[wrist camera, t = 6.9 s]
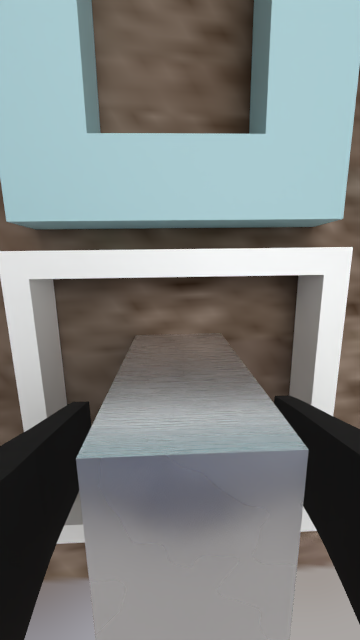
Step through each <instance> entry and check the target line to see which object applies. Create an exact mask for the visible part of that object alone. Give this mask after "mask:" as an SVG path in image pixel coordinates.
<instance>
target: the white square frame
mask: <svg viewBox="0 0 360 640" xmlns="http://www.w3.org/2000/svg"><path fill="white" fill-rule="evenodd" d="M352 251H353V247H322V248H238V249H153V250H68V251H0V278H1V284H2V291H3V298H4V304H5V311H6V317H7V324H8V330H9V337H10V343H11V350H12V357H13V363H14V370H15V376H16V383H17V389H18V396H19V403H20V409H21V416H22V422H23V429H24V432H25V431H27V430H29V429H30V428H32V427H33V426H35V425H37V424H38V423H40V422H41V421H43V420H44V419H46V418H47V417H49V416H51V415H52V414H54V413H55V412H57V411H58V410H60V409H62V408H63V407H65V406H67V399H66V391H65V382H64V373H63V364H62V355H61V346H60V337H59V328H58V319H57V310H56V301H55V292H54V283H53V279H80V278H145V277H209V276H274V275H298V288H297V301H296V313H295V326H294V339H293V352H292V365H291V378H290V390H289V396H292V397H295V398H297V399H300V400H302V401H304V402H306V403H308V404H310V405H312V406H314V407H316V408H318V409H320V410H322V411H324V412H326V413H327V414H329V415H331V416H333V413H334V404H335V396H336V387H337V379H338V370H339V362H340V353H341V345H342V336H343V328H344V319H345V311H346V302H347V294H348V285H349V277H350V268H351V260H352ZM302 531H317V530H316V528H315V526H314V524H313V523H312V521H311V519H310V517H309V516H308V514H307V512H306V510H305V509H304V507H303V512H302V522H301V532H302ZM82 542H85V537H84V528H83V519H82V510H81V501H80V492H78V495H77V497H76V499H75V502H74V504H73V506H72V509H71V511H70V513H69V516H68V518H67V520H66V523H65V525H64V527H63V530H62V532H61V534H60V536H59V539H58V541H57V544H62V543H82Z"/></svg>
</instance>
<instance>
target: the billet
mask: <svg viewBox="0 0 360 640" xmlns="http://www.w3.org/2000/svg"><path fill="white" fill-rule="evenodd" d="M308 451H309V449H308V448H307V447H306V445H305V444H304V443H303V441H302V440H301V439H300V437H299V436H298V435H297V433H296V432H295V431H294V430H293V428H292V427H291V426H290V424H289V423H288V422H287V420H286V419H285V418H284V416H283V415H282V414H281V412H280V411H279V410H278V408H277V407H276V406H275V404H274V403H273V402H272V400H271V399H270V398H269V396H268V395H267V394H266V392H265V391H264V390H263V388H262V387H261V386H260V384H259V383H258V382H257V381H256V379H255V378H254V377H253V375H252V374H251V373H250V371H249V370H248V369H247V367H246V366H245V365H244V363H243V362H242V361H241V359H240V358H239V357H238V355H237V354H236V353H235V351H234V350H233V349H232V347H231V346H230V345H229V343H228V342H227V341H226V339H225V338H224V337H223V336H222V334H221V333H211V334H168V335H136V336H135V338H134V340H133V342H132V344H131V346H130V348H129V350H128V353H127V355H126V357H125V359H124V361H123V363H122V365H121V367H120V369H119V371H118V373H117V375H116V377H115V379H114V381H113V383H112V385H111V387H110V390H109V392H108V394H107V396H106V398H105V400H104V402H103V404H102V406H101V408H100V410H99V412H98V414H97V416H96V418H95V420H94V422H93V425H92V427H91V429H90V431H89V433H88V435H87V437H86V439H85V441H84V443H83V445H82V447H81V449H80V451H79V453H78V455H77V457H76V464H77V473H78V482H79V492H80V501H81V510H82V519H83V528H84V537H85V547H86V556H87V565H88V574H89V583H90V592H91V602H92V610H93V619H94V629H95V638H96V640H290V632H291V622H292V611H293V602H294V591H295V581H296V572H297V562H298V552H299V542H300V532H301V522H302V512H303V501H304V491H305V481H306V471H307V461H308Z"/></svg>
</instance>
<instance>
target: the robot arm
mask: <svg viewBox="0 0 360 640" xmlns="http://www.w3.org/2000/svg"><path fill="white" fill-rule="evenodd" d="M274 404H275V406H276V407H277V408H278V410H279V411H280V412H281V414H282V415H283V416H284V418H285V419H286V420H287V422H288V423H289V424H290V426H291V427H292V428H293V430H294V431H295V432H296V433H297V435H298V436H299V437H300V439H301V440H302V441H303V443H304V444H305V445H306V447H307V448H308V449H309V451H308V461H307V471H306V481H305V491H304V501H303V507H304V509H305V510H306V512H307V514H308V516H309V517H310V519H311V521H312V523H313V524H314V526H315V528H316V530H317V532H318V534H319V536H320V538H321V539H322V541H323V543H324V545H325V547H326V549H327V552H328V554H329V556H330V558H331V560H332V563H333V565H334V567H335V569H336V571H337V573H338V576H339V578H340V580H341V582H342V585H343V587H344V589H345V591H346V594H347V596H348V598H349V601H350V603H351V605H352V607H353V610H354V612H355V615H356V616H357V619H358V621H359V624H360V429H358V428H356V427H354V426H352V425H350V424H347V423H345V422H343V421H341V420H339V419H337V418H335V417H333V416H331V415H329V414H327V413H326V412H324V411H322V410H320V409H318V408H316V407H314V406H312V405H310V404H308V403H306V402H304V401H302V400H300V399H297V398H295V397H292V396H275V400H274ZM90 429H91V419H90V408H89V402H72V403H70V404H68V405H67V406H65V407H63V408H62V409H60V410H58V411H57V412H55V413H54V414H52V415H51V416H49V417H47V418H46V419H44V420H43V421H41V422H40V423H38V424H37V425H35V426H33V427H32V428H30V429H29V430H27V431H25V432H24V433H22V434H20V435H19V436H17V437H15V438H13V439H12V440H10V441H8V442H7V443H5V444H3V445H2V446H0V640H24V638H25V635H26V632H27V629H28V625H29V622H30V619H31V616H32V613H33V610H34V607H35V603H36V600H37V597H38V594H39V591H40V588H41V585H42V582H43V580H44V577H45V574H46V571H47V568H48V565H49V562H50V559H51V556H52V554H53V551H54V549H55V546H56V544H57V541H58V539H59V536H60V534H61V532H62V530H63V527H64V525H65V523H66V520H67V518H68V516H69V513H70V511H71V509H72V506H73V504H74V502H75V499H76V497H77V495H78V492H79V482H78V473H77V464H76V457H77V455H78V453H79V451H80V449H81V447H82V445H83V443H84V441H85V439H86V437H87V435H88V433H89V431H90Z"/></svg>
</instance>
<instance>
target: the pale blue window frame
mask: <svg viewBox="0 0 360 640" xmlns="http://www.w3.org/2000/svg"><path fill="white" fill-rule="evenodd" d="M359 65H360V0H254V15H253V42H252V70H251V98H250V126H249V134H173V133H100V119H99V104H98V90H97V75H96V60H95V45H94V30H93V16H92V1H91V0H0V178H1V185H2V192H3V200H4V207H5V214H6V221H7V222H10V223H14V224H17V225H21V226H25V227H29V228H32V229H130V228H240V227H315V226H318V225H322V224H326V223H330V222H333V221H337V220H341V219H343V213H344V204H345V195H346V186H347V176H348V167H349V158H350V148H351V139H352V130H353V121H354V111H355V102H356V93H357V83H358V74H359Z"/></svg>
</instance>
